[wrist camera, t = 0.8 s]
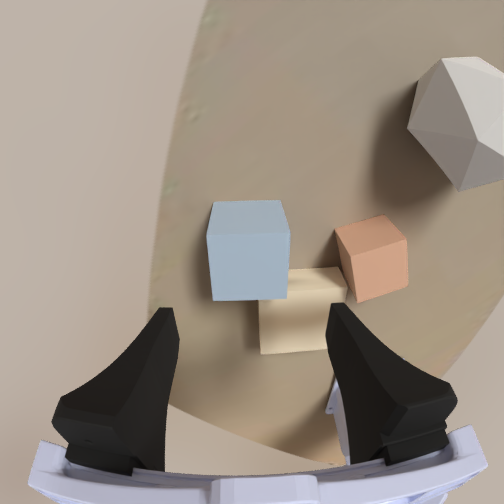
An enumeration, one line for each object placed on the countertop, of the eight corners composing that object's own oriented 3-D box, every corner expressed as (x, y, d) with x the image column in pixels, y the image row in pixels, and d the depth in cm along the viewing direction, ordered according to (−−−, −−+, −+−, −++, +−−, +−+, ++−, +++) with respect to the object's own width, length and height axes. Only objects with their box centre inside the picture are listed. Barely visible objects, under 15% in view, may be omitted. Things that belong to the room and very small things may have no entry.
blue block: (278, 256, 23) (286, 298, 19) (218, 258, 23) (213, 301, 19) (280, 199, 21) (290, 232, 17) (213, 201, 21) (206, 234, 17)
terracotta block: (387, 257, 24) (408, 286, 20) (342, 271, 24) (357, 303, 21) (383, 213, 22) (406, 238, 18) (334, 228, 22) (350, 256, 19)
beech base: (329, 323, 27) (336, 347, 25) (258, 329, 27) (260, 354, 25) (337, 264, 24) (347, 287, 22) (256, 269, 24) (258, 293, 22)
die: (477, 159, 20) (560, 117, 10) (441, 226, 18) (554, 191, 9) (414, 83, 20) (485, 16, 10) (362, 134, 18) (454, 46, 9)
